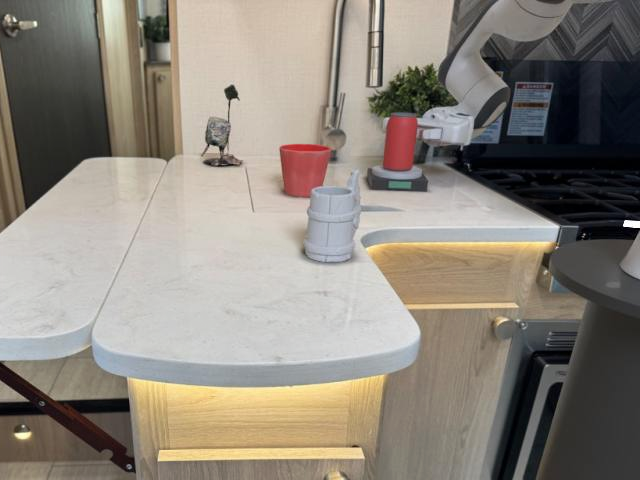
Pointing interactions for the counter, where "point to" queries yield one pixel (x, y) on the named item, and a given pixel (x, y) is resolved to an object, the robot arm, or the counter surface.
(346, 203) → the mug
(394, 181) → the kitchen scale
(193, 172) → the counter surface
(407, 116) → the beer can
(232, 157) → the grey tall irregular piece
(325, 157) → the flower pot
